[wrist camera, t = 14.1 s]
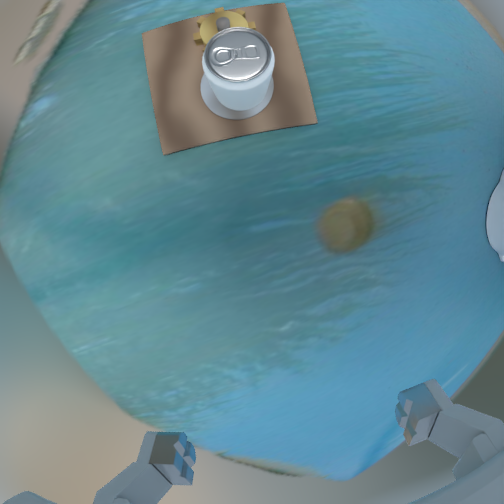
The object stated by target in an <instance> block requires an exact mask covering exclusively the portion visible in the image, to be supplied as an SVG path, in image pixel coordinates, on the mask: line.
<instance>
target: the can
mask: <svg viewBox="0 0 504 504" xmlns="http://www.w3.org/2000/svg"><path fill="white" fill-rule="evenodd" d="M274 62H275V59H274V53H273V50H272V48H271V46H270V44H269V42H268V41H267V39H266V38H265V37H264V36H263V35H262V34H261V33H259V32H257V31H255V30H253V29H250V28H246V27H231V28H227V29H224V30H222V31H220V32H218V33H217V34H215V35H214V36H213V37H212V38H211V39H210V40H209V42H208V43H207V45H206V47H205V51H204V53H203V57H202V66H203V70H204V73H205V75H206V77H207V79H208V81H209V83H210V85H211V88H212V90H213V92H214V93H215V95H216V97H217V99H218V100H219V102H220V103H221V104H222V105H224V106H225V107H227V108H229V109H232V110H238V111H243V110H248V109H251V108H253V107H255V106H257V105H258V104H259V103H260V102H261V101H262V100H263V99H264V97H265V95H266V92H267V89H268V86H269V83H270V79H271V76H272V72H273V68H274Z"/></svg>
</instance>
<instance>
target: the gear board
mask: <svg viewBox="0 0 504 504" xmlns="http://www.w3.org/2000/svg"><path fill="white" fill-rule="evenodd" d="M231 27H246V28H250V29H253V30H255V31H257V32H259V33H261V34H262V35H263V36H264V37H265V38H266V39H267V41H268V42H269V44H270V46H271V48H272V50H273V53H274V59H275V62H274V68H273V72H272V76H271V79H270V83H269V86H268V89H267V92H266V95H265V97H264V99H263V100H262V101H261V102H260V103H259V104H258V105H257V106H255V107H253V108H251V109H248V110H243V111H238V110H232V109H229V108H227V107H225V106H224V105H222V104H221V103H220V102H219V100H218V99H217V97H216V95H215V93H214V92H213V90H212V88H211V85H210V83H209V81H208V79H207V77H206V75H205V73H204V70H203V66H202V57H203V53H204V51H205V47H206V45H207V43H208V42H209V40H210V39H211V38H212V37H213V36H214V35H215V34H217V33H218V32H220V31H222V30H224V29H227V28H231ZM142 39H143V46H144V53H145V60H146V66H147V73H148V79H149V85H150V91H151V96H152V102H153V107H154V113H155V118H156V123H157V128H158V133H159V138H160V143H161V147H162V152H163V155H168V154H172V153H175V152H179V151H183V150H186V149H190V148H194V147H198V146H202V145H206V144H210V143H214V142H218V141H223V140H227V139H232V138H236V137H241V136H246V135H251V134H256V133H262V132H267V131H273V130H279V129H285V128H291V127H298V126H305V125H312V124H317V123H318V122H317V118H316V113H315V109H314V104H313V100H312V96H311V92H310V88H309V84H308V80H307V76H306V72H305V68H304V65H303V61H302V57H301V54H300V50H299V47H298V43H297V40H296V37H295V33H294V30H293V27H292V24H291V21H290V17H289V14H288V11H287V8H286V5H285V3H275V4H265V5H257V6H249V7H242V8H236V9H230V10H225V11H224V9H223V7H222V8H217V9H215V13H210V14H206V15H201V16H197V17H193V18H189V19H186V20H182V21H179V22H175V23H172V24H168V25H165V26H162V27H159V28H156V29H153V30H150V31H147V32H145V33H142Z"/></svg>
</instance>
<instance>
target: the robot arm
mask: <svg viewBox="0 0 504 504" xmlns="http://www.w3.org/2000/svg"><path fill="white" fill-rule="evenodd" d="M486 226H487V235H488V239H489V242H490V244H491V246H492V248H493V249H494V250H495V251H497V252H498V254H499V257H500V260H501V261H502V262H504V170H503V172H502V175H501V179H500V182H499V184H498V185H497V187H496V188H495V190H494V192H493V194H492V196H491V199H490V202H489V206H488V211H487V221H486ZM398 400H399V403H398V404H397V405H396V409H395V414H396V419H397V422H398V424H399V426H400V427H402V428H404V429H405V430H404V434H403V435H404V437H405V439H406V441H407V443H408V445H409V446H411V445H414V444H416V443H419V442H421V441H424V440H426V439H428V440H429V441H431V442H433V443H435V444H436V445H438V446H439V447H441V448H443V449H444V450H446V451H448V452H450V453H451V454H453V455H455V456H456V457H458V458H460V459H459V461H458V462H457V464H456V465H455V467H454V468H453V470H452V472H453V474H454V476H455V478H456V481H454V482H452V483H451V484H449V485H447V486H445V487H443V488H441V489H439V490H437V491H435V492H433V493H431V494H429V495H426V496H424V497H422V498H420V499H418V500H415V501H413V502H411V503H408V504H504V424H503V422H502V421H501V420H500V419H497V418H494V417H491V416H489V415H486V414H483V413H480V412H477V411H475V410H472V409H470V408H467V407H464V406H461V405H459V404H454V405H453V403H452V402H451V400H450V399H449V397H448V396H447V395H446V393H445V392H444V390H443V389H442V388H441V386H440V385H439V384H438V382H437V381H436V380H435V379H431V380H429V381H426V382H424V383H421V384H418V385H416V386H414V387H411V388H409V389H406V390H403V391H401V392H400V393H399V394H398ZM195 460H196V456H195V449H194V446H193V445H192V443H190V442H188V441H187V436H186V434H185V433H184V432H149V431H148V432H147V433H146V434H145V436H144V439H143V442H142V445H141V449H140V452H139V455H138V459H137V461H136V462H133V463H132V464H131V465H130V466H128V467H127V468H126V469H125V470H123V471H122V472H121V473H120V474H118V475H117V476H116V477H115V478H114V479H112V480H111V481H110V482H109V483H107V484H106V485H105V486H104V487H102V488H101V489H100V490H98V491H97V493H96V496H95V499H94V502H93V504H157V503H158V502H159V501H160V500H161V498H162V497H163V496H164V495H165V494H166V493H167V492H168V490H169V489H170V488H171V487H172V485H192V481H193V474H194V472H193V470H192V469H191V467H192V466H193V465H194V464H195ZM3 504H57V503H54V502H52V501H50V500H47V499H45V498H43V497H41V496H39V495H37V494H35V493H32V492H29V491H25V492H22V493H20V494H18V495H16V496H14V497H12V498H10V499H8V500H7V501H5V502H4V503H3Z"/></svg>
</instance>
